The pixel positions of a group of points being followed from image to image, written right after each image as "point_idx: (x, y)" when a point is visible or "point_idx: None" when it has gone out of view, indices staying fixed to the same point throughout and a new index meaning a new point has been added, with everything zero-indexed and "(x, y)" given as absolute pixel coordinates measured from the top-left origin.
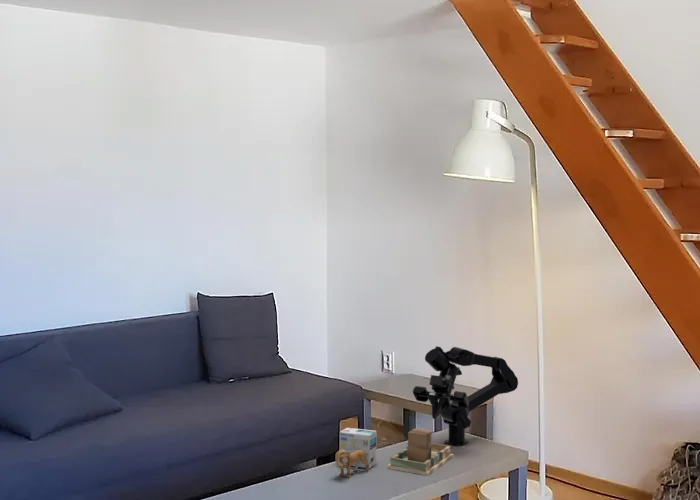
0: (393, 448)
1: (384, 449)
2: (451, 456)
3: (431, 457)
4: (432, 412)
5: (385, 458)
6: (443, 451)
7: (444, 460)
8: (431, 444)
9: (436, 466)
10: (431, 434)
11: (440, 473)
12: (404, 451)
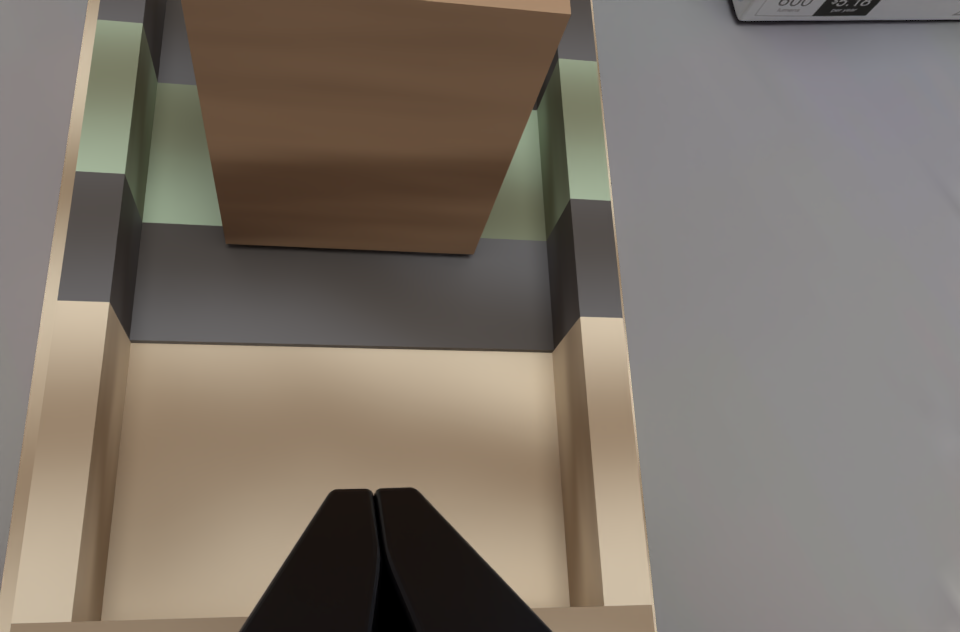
0: (902, 571)
1: (954, 473)
2: (6, 583)
3: (138, 19)
4: (472, 560)
5: (754, 191)
6: (54, 334)
7: (44, 312)
8: None
9: (79, 68)
10: (186, 26)
11: (3, 3)
12: (561, 105)
